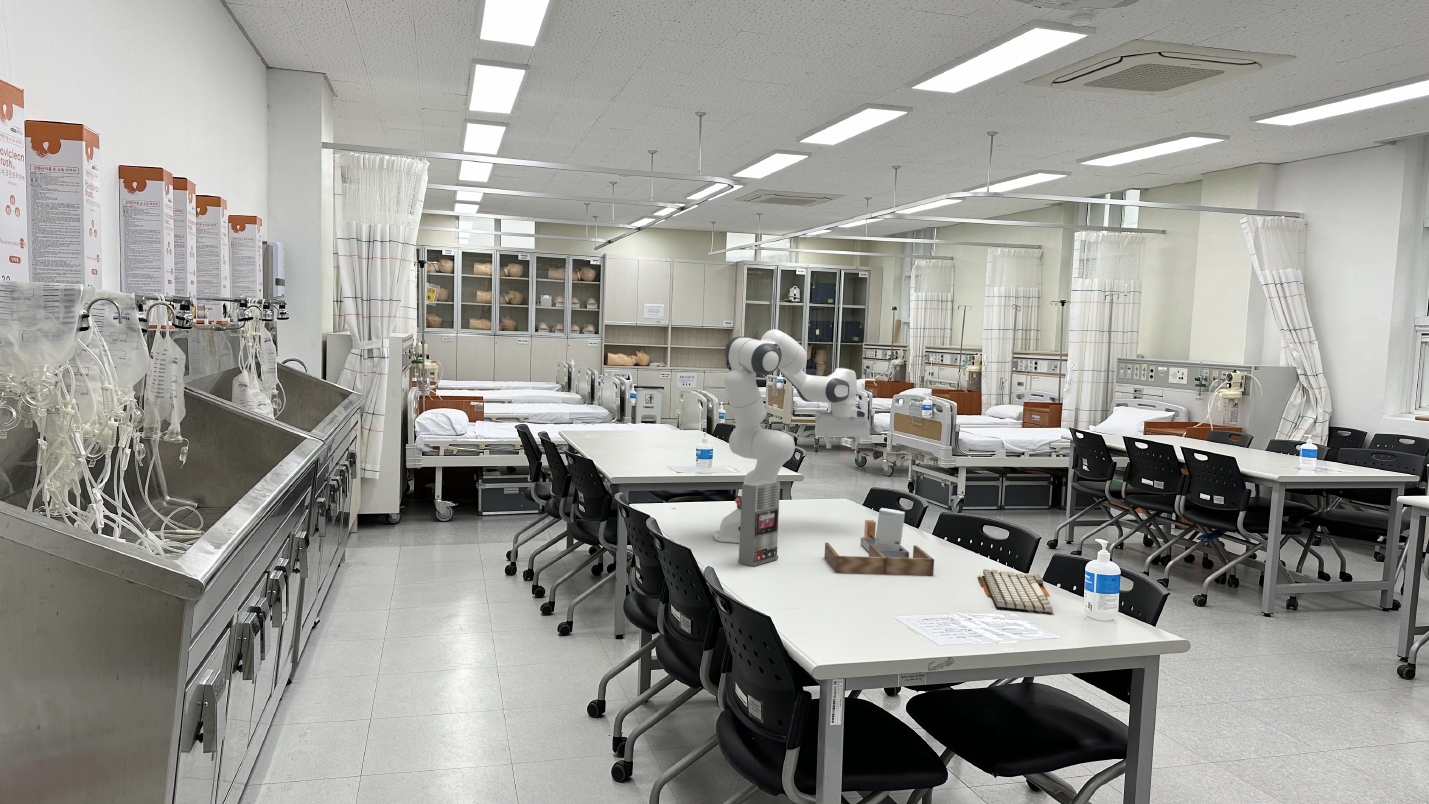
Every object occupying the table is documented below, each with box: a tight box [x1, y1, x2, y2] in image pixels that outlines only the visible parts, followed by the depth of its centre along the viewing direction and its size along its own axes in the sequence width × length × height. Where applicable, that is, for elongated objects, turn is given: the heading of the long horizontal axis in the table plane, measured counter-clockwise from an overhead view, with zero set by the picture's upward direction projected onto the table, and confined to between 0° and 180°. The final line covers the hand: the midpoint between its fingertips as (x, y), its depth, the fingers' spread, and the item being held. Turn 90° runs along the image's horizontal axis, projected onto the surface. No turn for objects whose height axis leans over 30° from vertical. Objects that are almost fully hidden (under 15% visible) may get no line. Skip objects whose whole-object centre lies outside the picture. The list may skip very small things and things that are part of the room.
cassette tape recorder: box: [737, 480, 781, 568], centre depth 281 cm, size 14×6×25 cm, turn 143°
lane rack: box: [823, 542, 935, 576], centre depth 283 cm, size 30×19×5 cm, turn 93°
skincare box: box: [874, 507, 906, 551], centre depth 300 cm, size 8×6×15 cm
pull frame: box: [860, 519, 910, 558], centre depth 310 cm, size 12×33×6 cm, turn 3°
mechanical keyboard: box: [976, 568, 1054, 615], centre depth 257 cm, size 38×19×3 cm, turn 170°
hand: (841, 448), depth 333 cm, fingers open, 8 cm apart
